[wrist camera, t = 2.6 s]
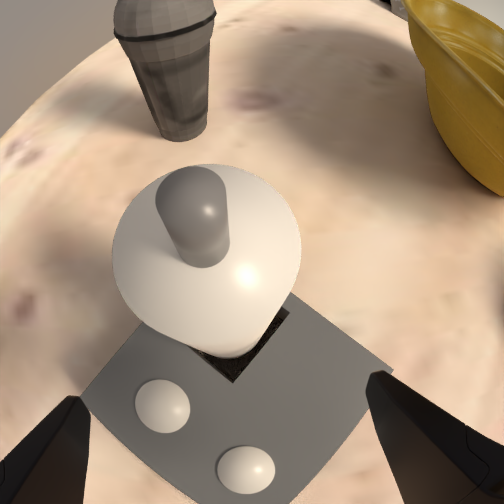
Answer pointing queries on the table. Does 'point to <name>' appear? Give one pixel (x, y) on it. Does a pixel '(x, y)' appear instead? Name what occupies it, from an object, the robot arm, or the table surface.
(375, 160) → the table surface
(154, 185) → the white lotion bottle
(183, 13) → the beverage cup
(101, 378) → the charging dock
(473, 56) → the planter bowl
